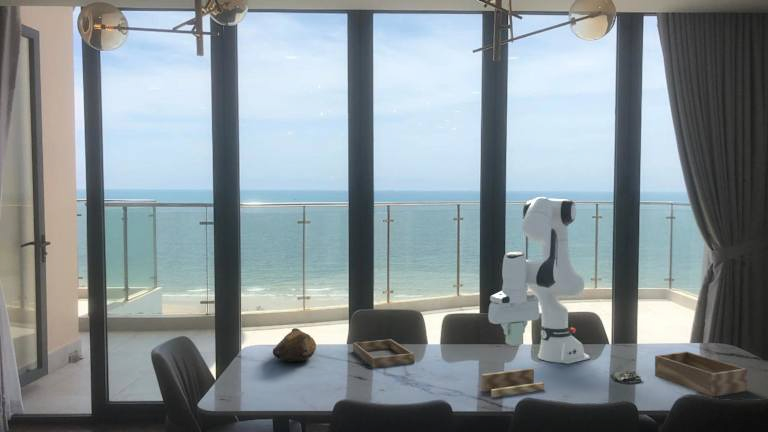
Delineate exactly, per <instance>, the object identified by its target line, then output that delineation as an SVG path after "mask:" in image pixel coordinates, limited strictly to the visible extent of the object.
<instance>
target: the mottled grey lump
mask: <svg viewBox="0 0 768 432" xmlns="http://www.w3.org/2000/svg"><path fill="white" fill-rule="evenodd" d="M641 376H642V375H639V374H637V372H635V370H631V369H627V370H624V372H621V371H620V372H618V371H616V372H612V373H611V374H610V379H611V380H612V381H613V382H614V383H618V384H623V385H636V384H637V385H638V384H640V383H642V379H641Z"/></svg>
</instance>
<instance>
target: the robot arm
mask: <svg viewBox="0 0 768 432" xmlns="http://www.w3.org/2000/svg"><path fill="white" fill-rule="evenodd" d="M523 205H524V206H523V208H522V209H523V210H522V216H523V221H522V231H523V232H524V234H525V236H526V237H527V238H528V239H529V240H531V241H533V242H535V243H537V244H540V245H541V256H542V257H543V259H538V260H537V259H526V254H525V253H524V252H522V251H509V252H506V253H505V254H504V256H503V261H502V268H501V269H502V272H501V273H502V281H503V283H502V287H501V290H500V291H499V292H496V293H495V294H492V295H490V296H489V300H490V304H489V306H488V312H487V313H488V317H487V318H488V321H489V323H491V324H494V325H498V324H499V325H500V327H502V329H503V334H504V335H505V336H506V335H510V330H508V329H507V327H506V326H507V325H508V323H511V322H523V334H525V332H526V328H527V325H528V322H529V321H530V322H531V321H538V320H539V319H540V317H541V325H540V338H541V339H540V346H539V351H538V354H537V358H538V359H540V360H542V361H545V362H550V363H559V364H573V363H577V362H581V361H582V362H583V361H585V360H590V356H589V354H587V353H585V351H584V346H583V344H582V342H581V341H579V340H578V339H577V338H576V337H575V336H573V335H572V333H573V334H575V333H576V331H577V329H576V328H575V327H569V312H568V309H567V307H566V306H565V305H564V304H562V303H561V302H560V301H559V299H558V296H559V297H564V298H574V297H579V296H580V295H581V294H582V293H583V292H584V289H585V280H584V278H583V276H582V275H581V274H580V273H578V272H577V270H575V268H574V267H573V264H572V262H571V260H570V253H569V229H568V226H569V225H570V224H572V223H573V222H574V221H575V218H576V216H577V207H576V204H575V203H574V201H573V200H571V199H568V198H567V199H566V198H564V199H560V198H547V197H545V196H539V197H536V198H534V199H531V200H527V202H525V203H524V204H523ZM528 288H529V290H530V291H531V292H532V293H533V294H530V295H529V294H528V292H527V291H528ZM539 306H540V307H539ZM540 310H541V316H540Z"/></svg>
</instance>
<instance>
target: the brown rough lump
mask: <svg viewBox="0 0 768 432" xmlns="http://www.w3.org/2000/svg"><path fill="white" fill-rule="evenodd" d="M316 350H317V344H316V341H315V340H314V338H313V337H312V336H311V335H310V334H309V333H306V332H304V331H302V330H301V329H299V328H297V327H296V328H295V327H294V328H292V329H291V331H290V332H289V333H287V334H286V335H284V337H283V338H282V340H280V342H279V343H277V345H276V346H275V347H274V348H273V349H272V354H273V356H274V357H275V358H277V359H283V361H285V362H287V363H288V362H289V363H291V362H292V363H294V362H301V361H305V360H308V359H310V358H311V357H312V356H313V355H314V353H315V351H316Z"/></svg>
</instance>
